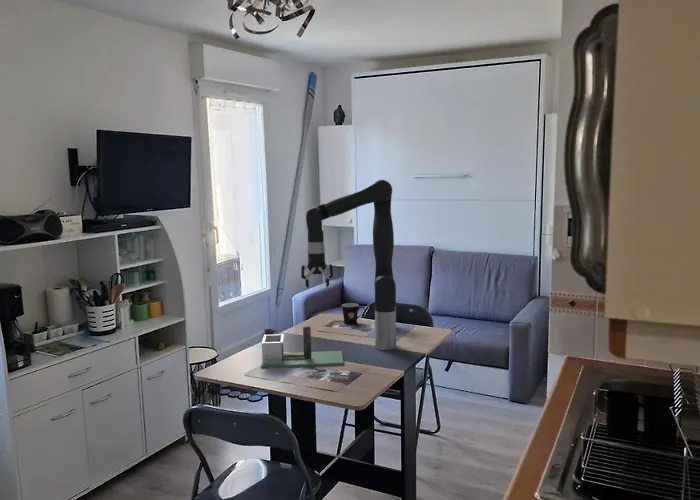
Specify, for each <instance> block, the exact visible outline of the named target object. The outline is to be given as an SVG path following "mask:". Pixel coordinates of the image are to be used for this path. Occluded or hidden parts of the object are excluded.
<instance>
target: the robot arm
mask: <svg viewBox="0 0 700 500" xmlns="http://www.w3.org/2000/svg"><path fill="white" fill-rule="evenodd" d="M392 195H393V186H392V185H391V183H390V182H389V181H387V180H385V179H379V180H377V181H376V180H375V182H373V184H371V185H369V186H367V187H366V188H363V189H362V190H360V191H356V192H353V193H350V194H347V195H344V196H340V197H338V198H334V199H332V200H329V201H327V202H325V203H322V204H318V205H315V206H313V207H310V208H309V209H307V211H306V214H305V221H306V227H307V258H308V259H307V260H308V261H307V264H305V265H304V264H302V265H301V272H300V273H301V274H300V275H301V279H302V280H305V288H307V289H309V288H310V282H309V281H310V280H309V278H311V276H312V275H321V274H322V275H323V276H324V277H325V285H326V288H329V286H330V279H332V278H333V277H334V270H333V264H332V263H329V264H326V252H325V251H326V248H325V241H324V238H325V237H324V236H325V235H324V230H323V221H324V220H327V219H329V218H331V217H332V218H333V217H336V216H340V215H342V214H344V213H347V212H350V211H352V210H354V209H357V208H359V207H361V206H365V205H368V204H372V203H373V206H374V208H373V209H374V210H373V211H374V213H373V223H372V224H373V225H372V246H373V254H374V260H375V270H374V271H375V274H374V344H375V349H377V350H381V351H389V350H390V351H391V350H396V349H397V324H396V325H395V306H396V307H397V305H396V303H397V301H396V300H397V298H396V297H397V286H396V281H395V279H394V273H393V272H394V271H393V256H394V255H393V254H394V245H395V238H394V236H395V235H394V226H393V225H394V223H393V217H392ZM326 268H327V269H328V270H329V274H328V273H327V272H326V271H325V269H326ZM307 269H308V271H309V272H307V275H305V271H306V270H307Z"/></svg>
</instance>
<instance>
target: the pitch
mask: <svg viewBox="0 0 700 500" xmlns="http://www.w3.org/2000/svg"><path fill="white" fill-rule="evenodd" d="M284 354H304V351H300V352H298V351H297V352H295V351H294V352H284ZM311 356H312V357H310V358H305V357H303V358H282V363H280V364H263V362H262V361H261V365H260V369H270V368H271V369H272V368H273V369H274V368H275V369H276V368H299V367H300V368H301V367H304V368H305V367H330V366H332V367H333V366H345V364H344V355H343V350H334V351H333V350H328V351H326V350H325V351H311Z"/></svg>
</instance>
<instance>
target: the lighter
mask: <svg viewBox="0 0 700 500" xmlns="http://www.w3.org/2000/svg"><path fill="white" fill-rule="evenodd" d="M263 331H264V332H262V333H261V336H262V337H261V338H262V339H263V337H264V335H276V334H277V329H276V328H275V329H274V328H271V327H269V328H267V327H266V328H264V329H263Z"/></svg>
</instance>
